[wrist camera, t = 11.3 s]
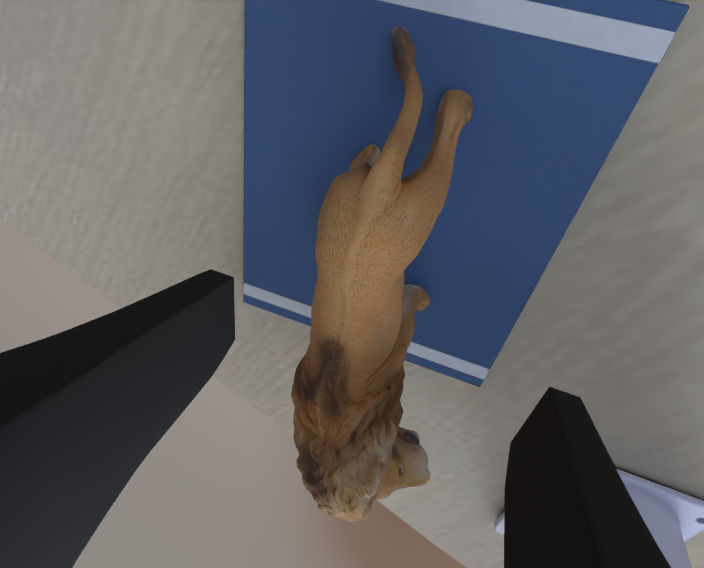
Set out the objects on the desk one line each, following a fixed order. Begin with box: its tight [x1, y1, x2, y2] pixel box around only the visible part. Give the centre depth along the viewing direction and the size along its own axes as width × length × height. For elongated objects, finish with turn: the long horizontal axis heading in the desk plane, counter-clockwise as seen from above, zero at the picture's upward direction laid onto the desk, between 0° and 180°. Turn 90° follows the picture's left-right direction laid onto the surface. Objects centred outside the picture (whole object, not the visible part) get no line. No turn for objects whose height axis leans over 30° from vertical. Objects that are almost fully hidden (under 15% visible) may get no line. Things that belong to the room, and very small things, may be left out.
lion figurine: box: [291, 26, 473, 522], centre depth 14 cm, size 15×5×9 cm, turn 4°
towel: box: [243, 0, 689, 387], centre depth 17 cm, size 16×13×1 cm
